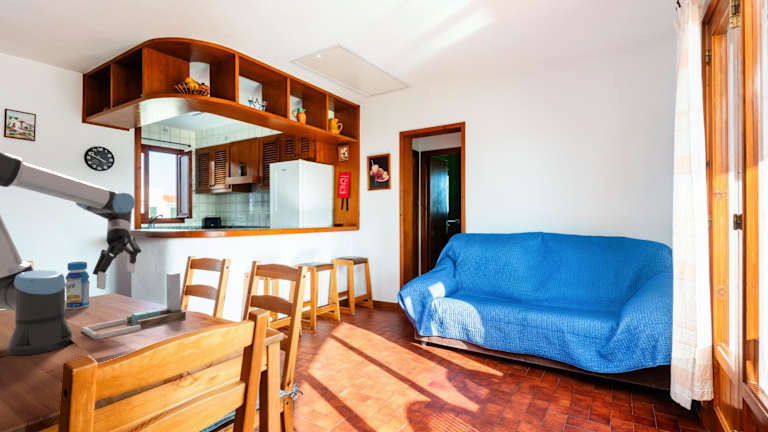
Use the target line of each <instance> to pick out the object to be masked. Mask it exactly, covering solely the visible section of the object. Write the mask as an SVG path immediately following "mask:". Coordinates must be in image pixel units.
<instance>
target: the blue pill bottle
mask: <svg viewBox="0 0 768 432" xmlns="http://www.w3.org/2000/svg"><path fill="white" fill-rule="evenodd" d="M87 269H88V262H87V261H72V262H68V263H67V271H68V273H67V275H66V276H65V309H67V310H79V309H83V308H87V307H89V306H90V283H91V282H90V280H89V278H90V275H89V272H88V271H86V270H87Z"/></svg>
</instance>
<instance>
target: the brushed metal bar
mask: <svg viewBox="0 0 768 432" xmlns="http://www.w3.org/2000/svg"><path fill="white" fill-rule="evenodd" d="M165 309H166V314H171V313H176V312H181V311H183V309H181V273H180V272H177V271H176V272H169V273H166V308H165Z"/></svg>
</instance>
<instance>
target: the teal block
mask: <svg viewBox="0 0 768 432" xmlns="http://www.w3.org/2000/svg"><path fill="white" fill-rule="evenodd" d="M160 310H161V309H157V308H155V309H149V310H143V311H144V312H147V313H148V318H152V317H156V316H161V311H160Z"/></svg>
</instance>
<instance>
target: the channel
mask: <svg viewBox="0 0 768 432" xmlns="http://www.w3.org/2000/svg"><path fill="white" fill-rule="evenodd" d="M166 309H167V308H163V309H159V310H160V311H161V316H156V317H152V318H147V319H142V320H137V325H141V329H144V328H149V327H153V326H154V327H155V326H157V325H162V324H167V323H171V322H176V321H179V320H180V321H181V320H184V319H185V320H186V319H187V314H186V313H187V312H186V311H184V310H182V311H181V312H176V313H171V314H166ZM126 320H127V323H126V324H127V325H130V326H134V325H132V314H131V315H126Z"/></svg>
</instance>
